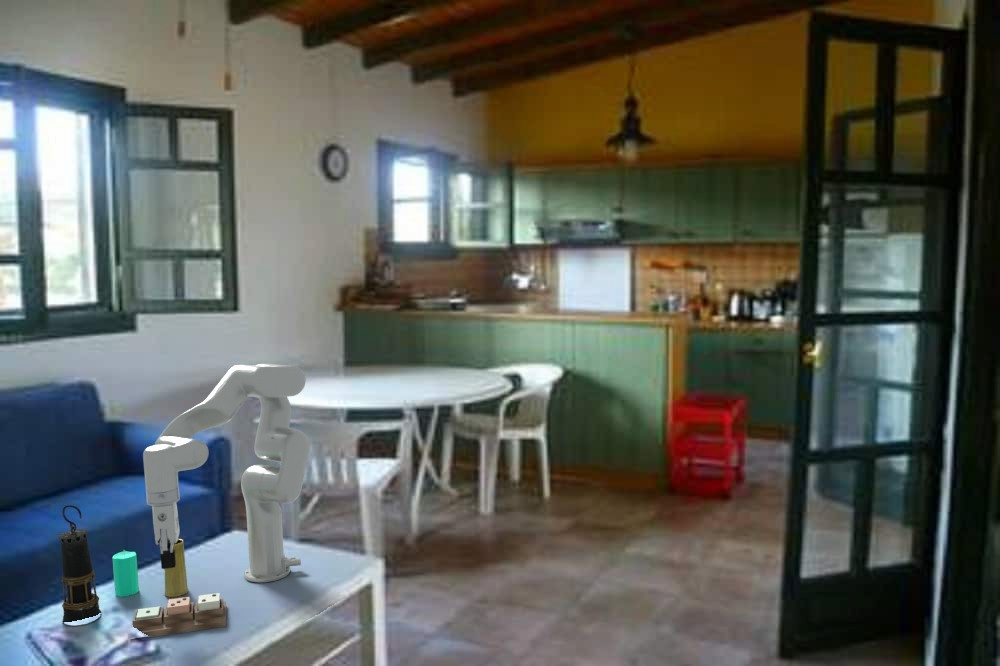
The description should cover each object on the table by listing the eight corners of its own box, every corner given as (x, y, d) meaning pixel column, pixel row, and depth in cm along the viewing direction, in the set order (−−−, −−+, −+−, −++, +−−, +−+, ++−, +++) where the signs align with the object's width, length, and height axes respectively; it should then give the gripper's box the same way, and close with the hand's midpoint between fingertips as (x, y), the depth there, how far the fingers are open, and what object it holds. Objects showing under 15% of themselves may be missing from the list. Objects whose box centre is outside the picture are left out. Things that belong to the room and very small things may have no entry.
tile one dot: (160, 615, 221) (159, 605, 221) (158, 624, 217) (157, 613, 216) (138, 618, 220) (138, 608, 220) (136, 626, 215) (136, 616, 215)
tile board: (226, 606, 229) (225, 593, 229) (225, 626, 218) (224, 612, 217) (135, 619, 223) (134, 605, 223) (129, 639, 212) (128, 626, 211)
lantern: (83, 608, 230) (74, 496, 226) (110, 613, 227) (101, 500, 223) (54, 623, 222) (44, 507, 218) (81, 628, 218) (71, 511, 215)
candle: (130, 597, 237) (127, 554, 235) (110, 595, 238) (106, 552, 236) (143, 588, 242) (140, 546, 241) (124, 586, 244) (120, 545, 242)
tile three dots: (190, 605, 223) (189, 596, 223) (189, 614, 218) (188, 603, 218) (169, 608, 222) (168, 598, 221) (167, 616, 217) (167, 606, 217)
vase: (193, 589, 241) (190, 539, 239) (178, 598, 235) (174, 547, 233) (174, 586, 243) (171, 537, 241) (159, 595, 237) (156, 544, 235)
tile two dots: (220, 601, 225) (219, 592, 225) (219, 609, 220) (219, 599, 220) (199, 604, 224) (198, 594, 223) (198, 612, 219) (198, 602, 219)
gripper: (176, 503, 210) (182, 576, 212) (181, 485, 224) (187, 554, 227) (142, 506, 208) (149, 580, 210) (150, 488, 222) (155, 558, 225)
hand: (168, 566), depth 218 cm, fingers closed
